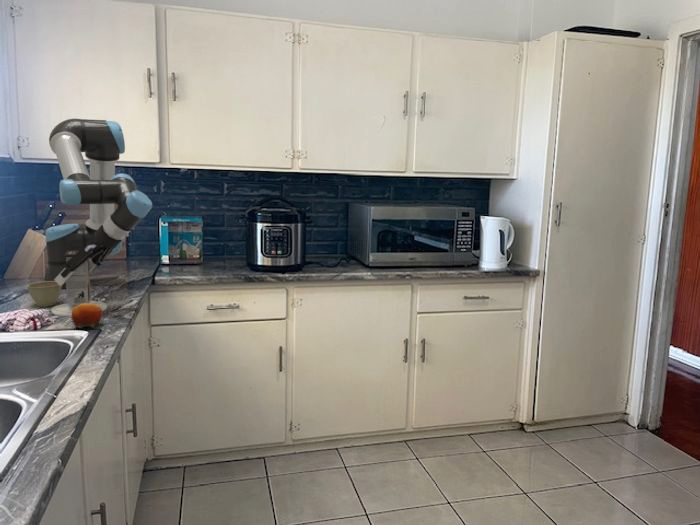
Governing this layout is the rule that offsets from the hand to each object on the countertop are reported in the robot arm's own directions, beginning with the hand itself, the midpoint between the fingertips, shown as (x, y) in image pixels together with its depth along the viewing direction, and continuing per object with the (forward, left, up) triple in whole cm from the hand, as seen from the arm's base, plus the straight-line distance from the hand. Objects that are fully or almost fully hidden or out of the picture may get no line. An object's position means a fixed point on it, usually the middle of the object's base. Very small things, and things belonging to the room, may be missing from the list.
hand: (69, 279), depth 174 cm
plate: (0, +3, -10) cm, 11 cm away
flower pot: (-4, -12, -10) cm, 16 cm away
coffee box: (0, +3, -8) cm, 8 cm away
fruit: (+16, +16, -10) cm, 25 cm away
